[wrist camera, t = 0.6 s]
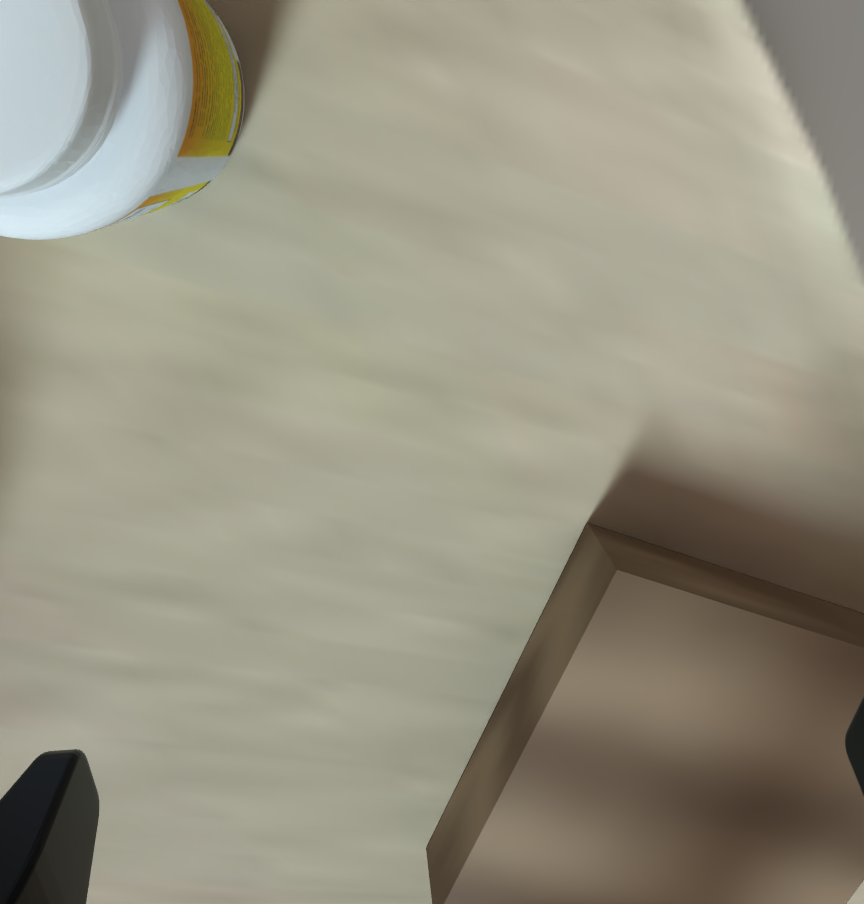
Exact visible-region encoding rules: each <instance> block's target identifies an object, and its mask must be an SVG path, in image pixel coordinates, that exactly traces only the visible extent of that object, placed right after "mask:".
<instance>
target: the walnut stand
mask: <svg viewBox="0 0 864 904" xmlns="http://www.w3.org/2000/svg"><path fill="white" fill-rule="evenodd" d="M863 697H864V614H863V613H860V612H857V611H854V610H851V609H847V608H844V607H841V606H838V605H835V604H832V603H829V602H826V601H823V600H820V599H817V598H814V597H811V596H808V595H805V594H802V593H799V592H796V591H793V590H790V589H787V588H784V587H780V586H777V585H774V584H771V583H768V582H765V581H762V580H759V579H756V578H753V577H750V576H747V575H744V574H741V573H738V572H735V571H732V570H729V569H726V568H723V567H720V566H717V565H713V564H710V563H707V562H704V561H701V560H698V559H695V558H692V557H689V556H686V555H683V554H680V553H677V552H674V551H671V550H668V549H665V548H662V547H659V546H656V545H653V544H650V543H646V542H643V541H640V540H637V539H634V538H631V537H628V536H625V535H622V534H619V533H616V532H613V531H610V530H607V529H604V528H601V527H598V526H595V525H592V524H589V523H587V524H586V526H585V528H584V530H583V532H582V534H581V536H580V538H579V540H578V542H577V544H576V546H575V548H574V550H573V552H572V554H571V556H570V558H569V560H568V562H567V564H566V566H565V569H564V571H563V573H562V575H561V577H560V579H559V581H558V583H557V585H556V587H555V589H554V591H553V593H552V595H551V597H550V599H549V601H548V603H547V605H546V607H545V609H544V611H543V613H542V615H541V617H540V619H539V621H538V623H537V625H536V627H535V629H534V631H533V633H532V635H531V637H530V639H529V641H528V643H527V645H526V647H525V649H524V651H523V653H522V656H521V658H520V660H519V662H518V664H517V666H516V668H515V670H514V672H513V674H512V676H511V678H510V680H509V682H508V684H507V686H506V688H505V690H504V692H503V694H502V696H501V698H500V700H499V702H498V704H497V706H496V708H495V710H494V712H493V714H492V716H491V718H490V720H489V722H488V724H487V726H486V728H485V730H484V732H483V734H482V736H481V738H480V740H479V743H478V745H477V747H476V749H475V751H474V753H473V755H472V757H471V759H470V761H469V763H468V765H467V767H466V769H465V771H464V773H463V775H462V777H461V779H460V781H459V783H458V785H457V787H456V789H455V791H454V793H453V795H452V797H451V799H450V801H449V803H448V805H447V807H446V809H445V811H444V813H443V815H442V817H441V819H440V821H439V823H438V825H437V827H436V830H435V832H434V834H433V836H432V838H431V840H430V842H429V844H428V846H427V848H426V851H427V860H428V869H429V878H430V887H431V895H432V904H847V902H848V901H849V899H850V898H851V897H852V895H853V894H854V893H855V891H856V890H857V888H858V887H859V886H860V884H861V883H862V882H863V880H864V796H863V794H862V791H861V789H860V786H859V784H858V781H857V779H856V776H855V774H854V771H853V769H852V766H851V764H850V761H849V759H848V756H847V753H846V748H845V735H846V732H847V729H848V727H849V725H850V723H851V721H852V719H853V717H854V715H855V713H856V711H857V709H858V706H859V704H860V702H861V700H862V698H863Z"/></svg>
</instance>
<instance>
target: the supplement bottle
mask: <svg viewBox="0 0 864 904" xmlns="http://www.w3.org/2000/svg"><path fill="white" fill-rule="evenodd" d="M243 115H244V82H243V75H242V70H241V65H240V62H239V58H238V55H237V52H236V49H235V47H234V45H233V42H232V40H231V38H230V36H229V33H228V32H227V30H226V28H225V26H224V25H223V23H222V21H221V20H220V18H219V17H218V15H217V14H216V13H215V11H214V10H213V9H212V7H211V6H210V5H209V3H208V2H207V1H206V0H0V236H5V237H11V238H20V239H55V238H63V237H70V236H76V235H80V234H84V233H88V232H92V231H95V230H98V229H101V228H104V227H107V226H111V225H113V224H116V223H119V222H122V221H125V220H129V219H131V218H134V217H137V216H140V215H144V214H147V213H150V212H152V211H156V210H159V209H161V208H164V207H167V206H170V205H173V204H175V203H178V202H180V201H182V200H184V199H187V198H188V197H190V196H192V195H194V194H195V193H197V192H198V191H200V190H201V189H203V188H204V187H205V186H206V185H207V184H208V183H210V182H211V181H212V180H213V179H214V178H215V177H216V176H217V175H218V173H219V172H220V171H221V170H222V169H223V167H224V166H225V164H226V163H227V161H228V159H229V158H230V156H231V154H232V152H233V150H234V148H235V146H236V143H237V140H238V137H239V134H240V130H241V126H242V121H243Z"/></svg>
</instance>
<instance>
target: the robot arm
mask: <svg viewBox="0 0 864 904" xmlns="http://www.w3.org/2000/svg"><path fill="white" fill-rule="evenodd" d="M845 748H846V753H847V756H848V759H849V761H850V764H851V766H852V769H853V771H854V774H855V776H856V779H857V781H858V784H859V786H860V789H861V791H862V794H863V796H864V697H863V698H862V700H861V702H860V704H859V706H858V709H857V711H856V713H855V715H854V717H853V719H852V721H851V723H850V725H849V727H848V729H847V732H846V735H845ZM98 818H99V796H98V792H97V789H96V786H95V783H94V780H93V776H92V773H91V770H90V767H89V764H88V761H87V758H86V756H85V754H84V753H83V752H82V751H81V750H77V749H74V750H60V751H49V752H45V753H43V754H41V755H40V756H38V757H37V758H36V759H35V760H34V761H33V763H32V764H31V765H30V766H29V767H28V768H27V770H26V771H25V772H24V773H23V774H22V775H21V777H20V778H19V779H18V780H17V781H16V782H15V783H14V785H13V786H12V787H11V788H10V789H9V790H8V792H7V793H6V794H5V795H4V796H3V797H2V799H1V800H0V904H86V900H87V893H88V886H89V879H90V872H91V866H92V859H93V852H94V845H95V839H96V832H97V825H98Z"/></svg>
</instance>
